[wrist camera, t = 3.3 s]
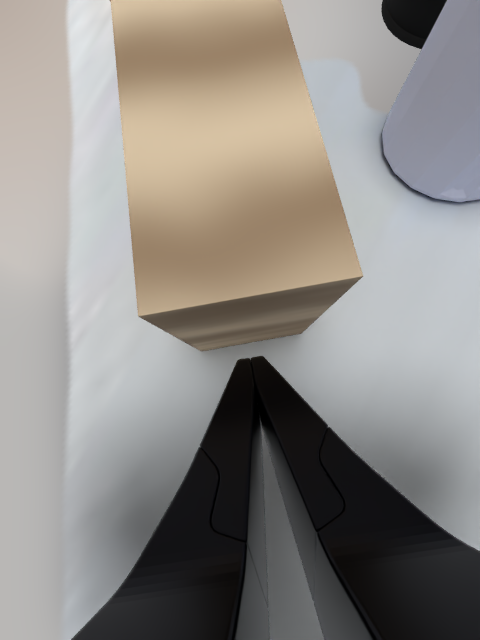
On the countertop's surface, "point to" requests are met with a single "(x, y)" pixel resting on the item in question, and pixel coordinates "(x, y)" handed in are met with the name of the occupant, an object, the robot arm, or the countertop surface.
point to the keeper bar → (225, 173)
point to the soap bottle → (441, 110)
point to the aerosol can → (411, 19)
